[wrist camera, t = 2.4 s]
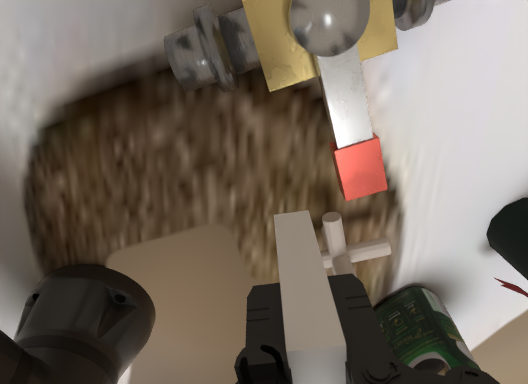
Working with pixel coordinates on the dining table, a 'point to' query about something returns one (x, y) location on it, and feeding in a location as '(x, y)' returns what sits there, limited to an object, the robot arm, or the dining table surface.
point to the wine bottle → (511, 238)
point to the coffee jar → (422, 332)
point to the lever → (342, 88)
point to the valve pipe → (273, 42)
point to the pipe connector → (347, 247)
